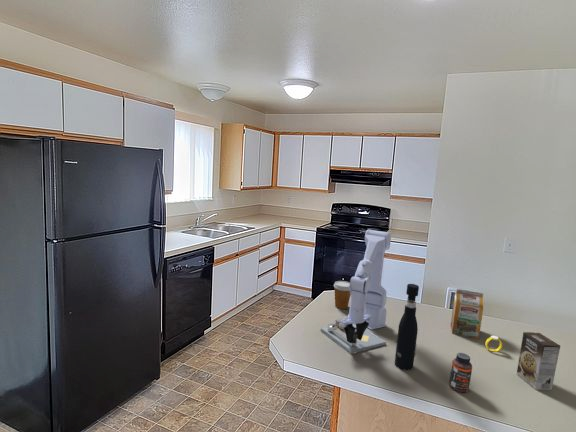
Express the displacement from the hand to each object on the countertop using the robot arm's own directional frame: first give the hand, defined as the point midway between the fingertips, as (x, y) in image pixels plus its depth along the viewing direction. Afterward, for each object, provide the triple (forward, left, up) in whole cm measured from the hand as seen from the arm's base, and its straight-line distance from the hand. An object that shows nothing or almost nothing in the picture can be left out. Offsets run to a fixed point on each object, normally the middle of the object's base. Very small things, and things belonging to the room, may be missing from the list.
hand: (354, 340), depth 136 cm
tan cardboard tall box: (-57, +8, -3) cm, 58 cm away
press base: (-5, -7, -3) cm, 9 cm away
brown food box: (-44, +43, -3) cm, 62 cm away
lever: (+1, -7, -1) cm, 7 cm away
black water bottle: (-9, +17, -3) cm, 20 cm away
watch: (-52, +24, -3) cm, 57 cm away
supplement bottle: (-16, +34, -3) cm, 38 cm away
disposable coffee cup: (-21, -35, -3) cm, 41 cm away
